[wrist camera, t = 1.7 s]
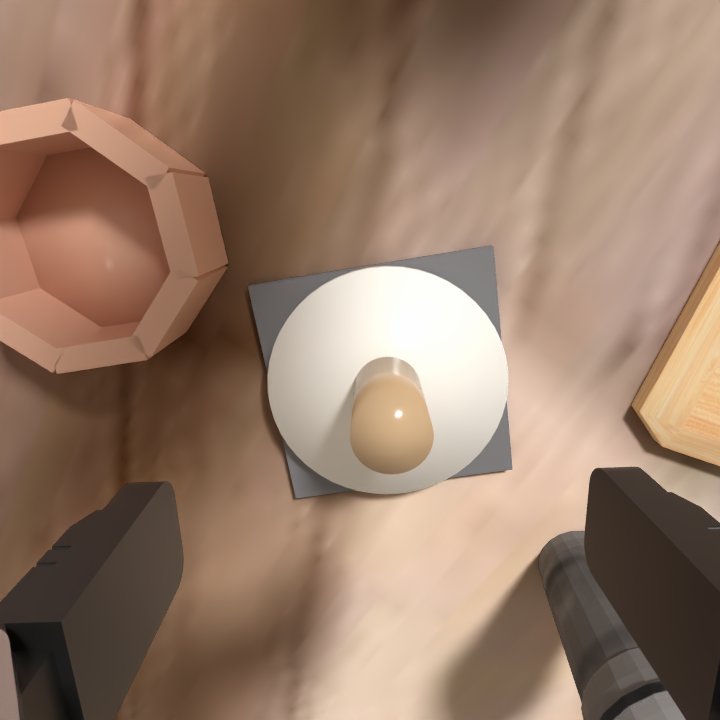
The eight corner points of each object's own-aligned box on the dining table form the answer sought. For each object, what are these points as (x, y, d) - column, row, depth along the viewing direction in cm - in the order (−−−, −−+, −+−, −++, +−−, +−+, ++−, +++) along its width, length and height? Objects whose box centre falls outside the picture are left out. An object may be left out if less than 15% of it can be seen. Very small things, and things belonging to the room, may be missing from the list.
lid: (493, 246, 26) (535, 261, 20) (512, 469, 30) (552, 545, 24) (247, 286, 27) (208, 313, 21) (295, 498, 31) (275, 579, 24)
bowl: (191, 105, 25) (149, 82, 21) (242, 324, 29) (217, 349, 24) (-23, 144, 26) (-111, 132, 21) (51, 354, 29) (-11, 384, 24)
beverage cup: (648, 581, 33) (1030, 1101, 14) (543, 623, 34) (761, 1157, 15) (607, 493, 31) (982, 953, 12) (497, 541, 32) (681, 1030, 13)
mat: (490, 245, 27) (493, 246, 26) (509, 464, 31) (512, 469, 30) (250, 284, 28) (247, 286, 27) (297, 492, 32) (295, 498, 31)
